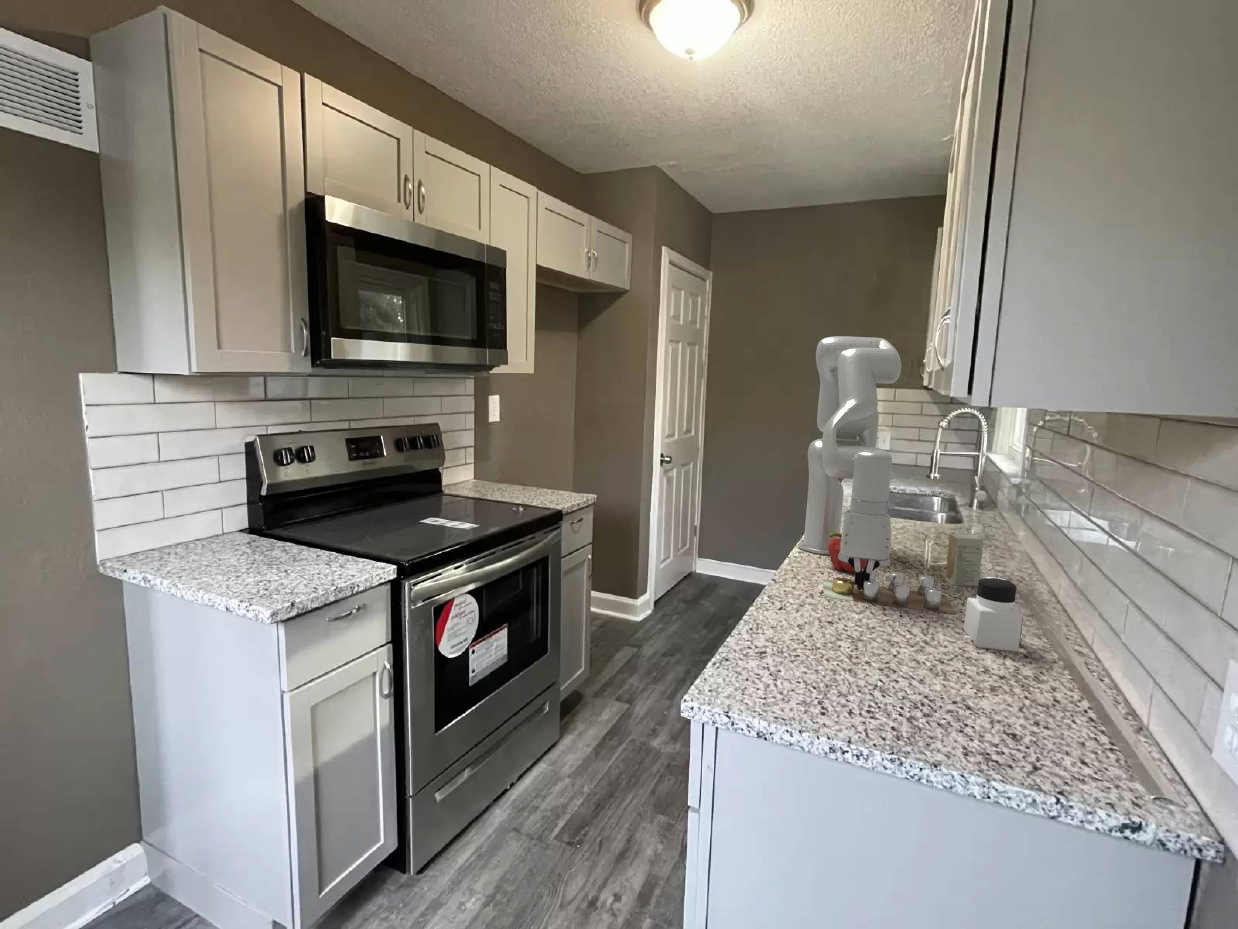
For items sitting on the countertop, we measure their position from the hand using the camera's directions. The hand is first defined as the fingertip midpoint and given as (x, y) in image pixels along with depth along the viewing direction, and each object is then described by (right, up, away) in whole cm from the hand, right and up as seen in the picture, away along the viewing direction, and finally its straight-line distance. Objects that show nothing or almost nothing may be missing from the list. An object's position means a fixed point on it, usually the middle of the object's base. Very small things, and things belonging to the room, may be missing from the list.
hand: (861, 588), depth 139 cm
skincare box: (+28, -2, +11) cm, 30 cm away
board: (+4, -2, -1) cm, 5 cm away
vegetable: (+3, 0, +19) cm, 19 cm away
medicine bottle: (+15, -6, -22) cm, 28 cm away
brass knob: (-4, -1, 0) cm, 4 cm away
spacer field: (+7, -2, -2) cm, 8 cm away
